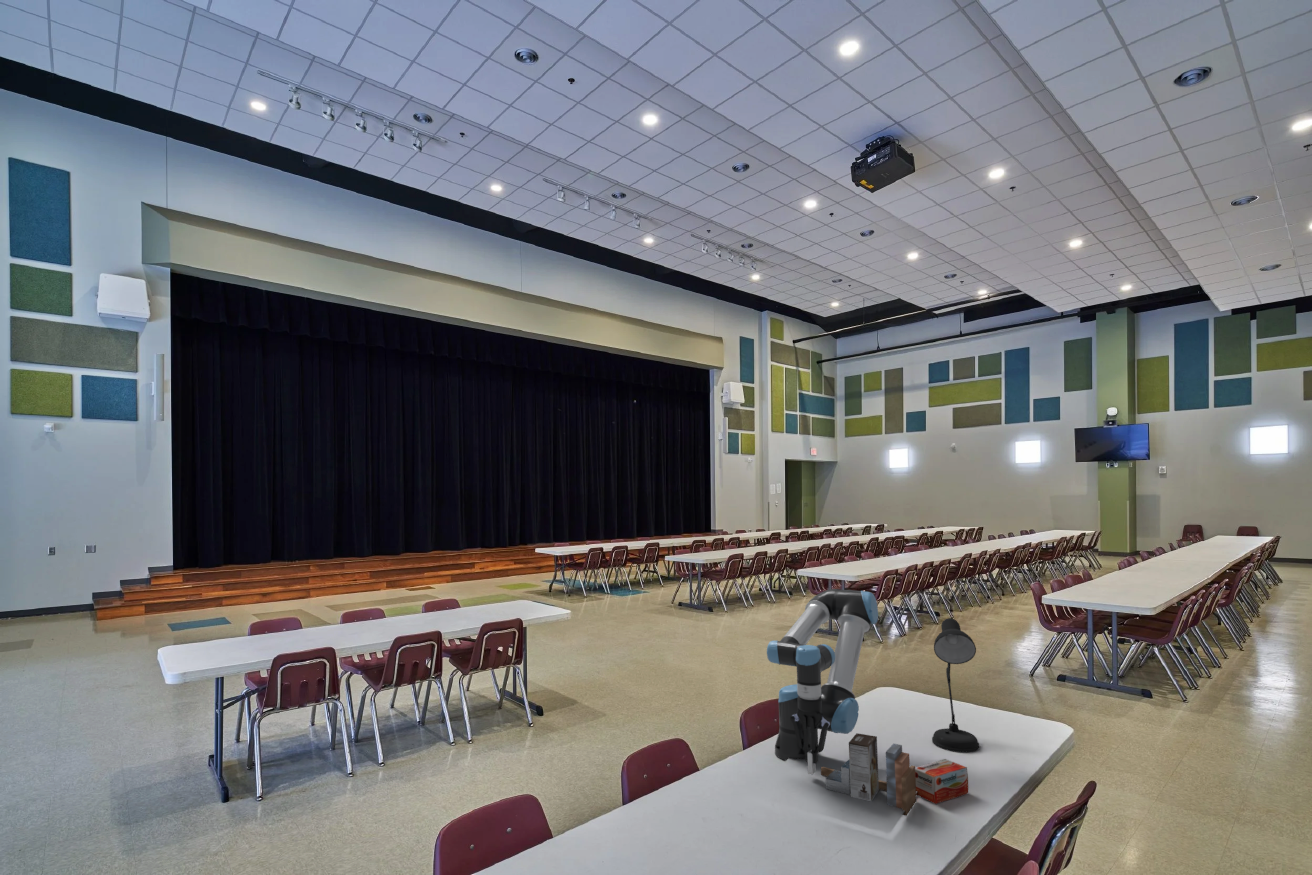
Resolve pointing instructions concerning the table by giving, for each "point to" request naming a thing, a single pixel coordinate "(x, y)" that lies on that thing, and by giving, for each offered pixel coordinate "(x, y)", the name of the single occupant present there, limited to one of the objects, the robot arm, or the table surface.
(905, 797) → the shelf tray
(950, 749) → the desk lamp
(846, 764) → the grey stepped block
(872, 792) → the coffee box
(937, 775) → the medicine box
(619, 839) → the table surface
